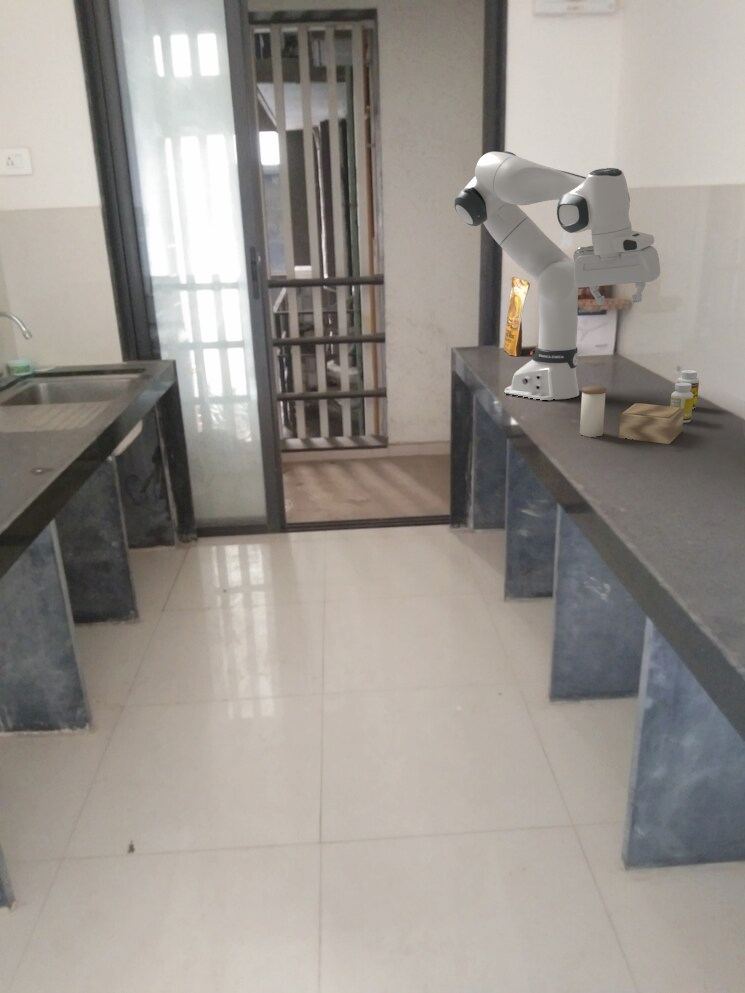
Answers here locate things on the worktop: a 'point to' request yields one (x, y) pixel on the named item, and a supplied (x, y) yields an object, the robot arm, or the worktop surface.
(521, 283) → the pancake mix bag
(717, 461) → the worktop surface
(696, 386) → the supplement bottle
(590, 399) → the cream tin
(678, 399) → the supplement bottle
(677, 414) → the oak block
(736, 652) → the worktop surface
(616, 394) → the worktop surface
